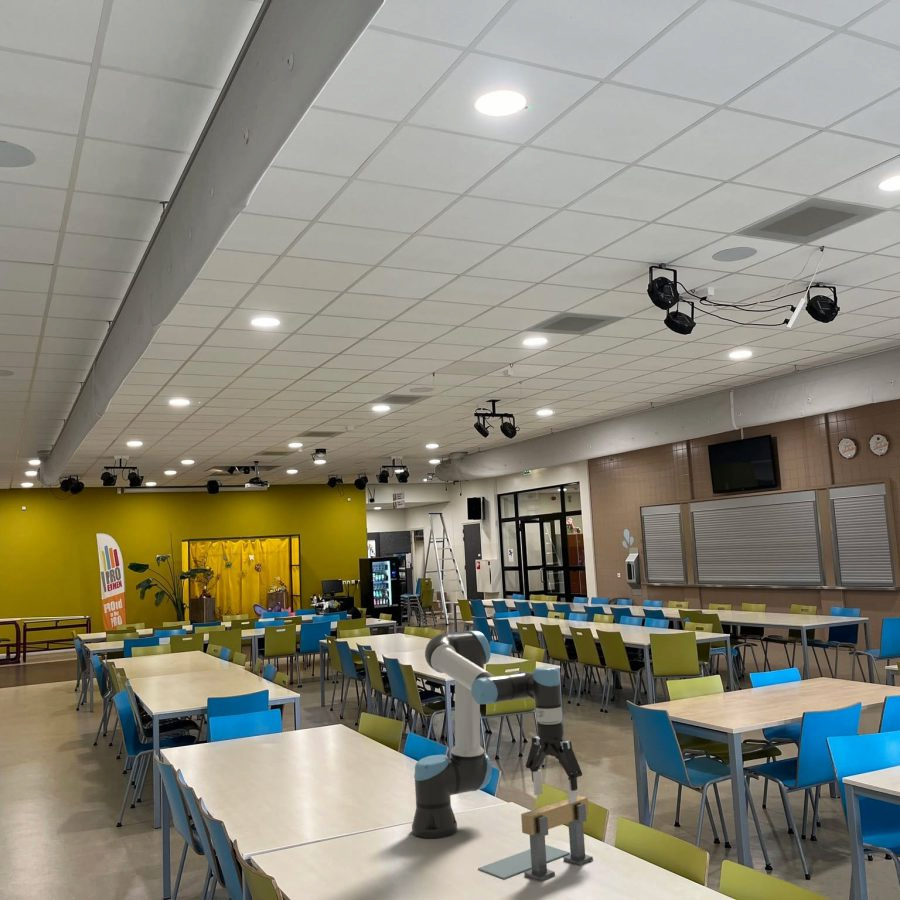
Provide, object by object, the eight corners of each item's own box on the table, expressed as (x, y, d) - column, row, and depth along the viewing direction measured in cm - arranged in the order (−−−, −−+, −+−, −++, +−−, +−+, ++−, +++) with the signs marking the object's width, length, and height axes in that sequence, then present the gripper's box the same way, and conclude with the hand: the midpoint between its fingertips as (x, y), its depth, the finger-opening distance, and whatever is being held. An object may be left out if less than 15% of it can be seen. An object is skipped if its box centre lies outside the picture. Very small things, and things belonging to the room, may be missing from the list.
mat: (478, 869, 235) (478, 868, 235) (543, 845, 252) (543, 844, 253) (504, 879, 227) (504, 877, 227) (570, 853, 244) (570, 852, 244)
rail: (522, 832, 229) (521, 813, 229) (579, 813, 244) (578, 795, 245) (531, 835, 226) (529, 816, 227) (588, 815, 241) (587, 797, 242)
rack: (524, 876, 229) (520, 816, 231) (577, 855, 242) (573, 798, 245) (539, 881, 224) (535, 820, 226) (592, 860, 238) (588, 802, 240)
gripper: (511, 719, 246) (516, 793, 243) (572, 728, 227) (578, 808, 224) (528, 716, 251) (533, 788, 248) (590, 724, 232) (597, 802, 229)
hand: (555, 798), depth 236 cm, fingers open, 13 cm apart
